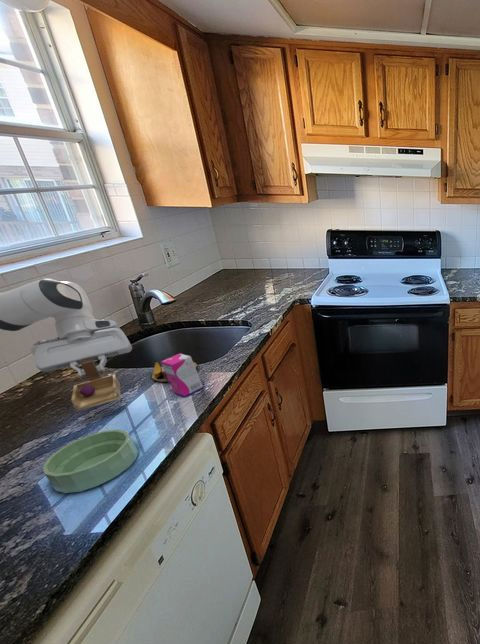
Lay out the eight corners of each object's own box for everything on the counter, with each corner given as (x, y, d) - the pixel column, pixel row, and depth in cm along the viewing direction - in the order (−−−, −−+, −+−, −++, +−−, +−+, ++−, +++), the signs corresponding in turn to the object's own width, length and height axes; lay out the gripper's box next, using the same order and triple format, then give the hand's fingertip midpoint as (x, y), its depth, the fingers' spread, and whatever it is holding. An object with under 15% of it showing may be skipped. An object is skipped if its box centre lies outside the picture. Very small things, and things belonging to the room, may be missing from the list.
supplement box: (192, 384, 116) (180, 352, 111) (204, 388, 114) (191, 356, 109) (173, 393, 112) (159, 360, 107) (185, 398, 109) (171, 364, 104)
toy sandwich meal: (197, 360, 131) (192, 349, 129) (198, 376, 121) (194, 364, 119) (154, 371, 124) (148, 359, 122) (152, 389, 114) (146, 376, 112)
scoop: (80, 392, 105) (65, 365, 102) (120, 381, 111) (107, 355, 107) (77, 411, 97) (61, 382, 93) (120, 398, 102) (107, 370, 98)
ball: (97, 395, 104) (84, 399, 101) (91, 391, 105) (77, 394, 102) (97, 386, 103) (84, 390, 100) (91, 382, 104) (77, 385, 101)
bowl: (44, 505, 75) (30, 486, 72) (67, 461, 86) (56, 443, 84) (132, 477, 81) (122, 458, 79) (143, 439, 92) (134, 422, 90)
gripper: (23, 338, 99) (36, 383, 96) (120, 319, 111) (134, 358, 108) (34, 347, 104) (47, 390, 101) (125, 328, 116) (139, 366, 113)
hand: (92, 373), depth 105 cm, fingers closed on scoop, 2 cm apart
